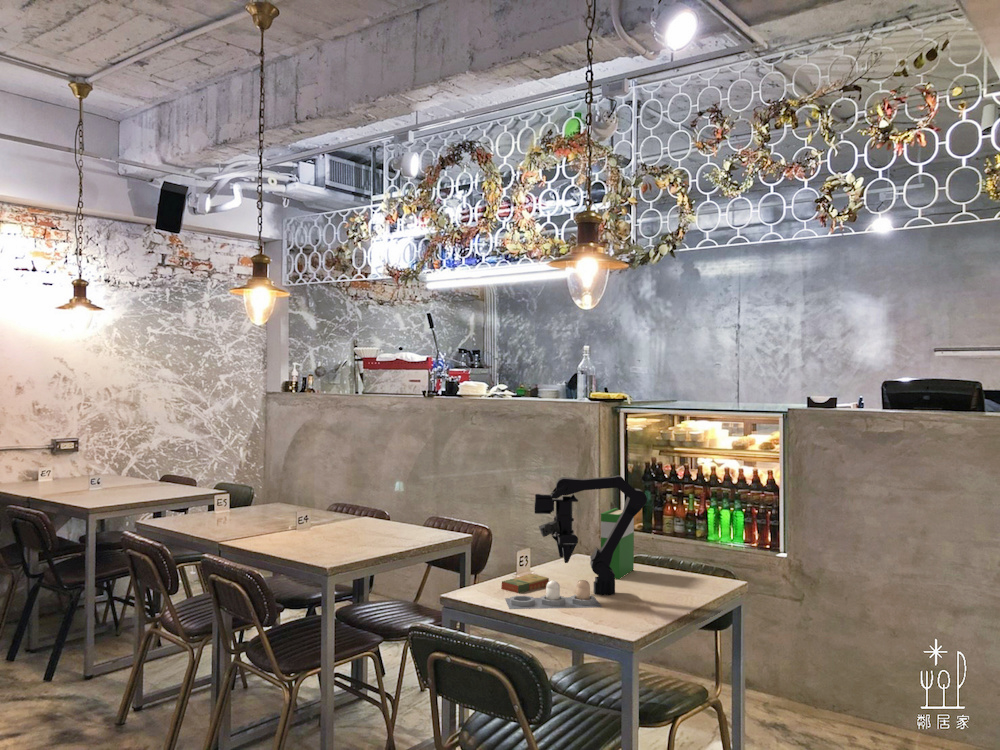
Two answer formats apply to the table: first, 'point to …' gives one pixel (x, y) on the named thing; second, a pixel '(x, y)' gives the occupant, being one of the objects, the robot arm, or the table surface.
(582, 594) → the brown egg
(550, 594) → the cream egg
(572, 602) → the egg stand
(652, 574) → the table surface
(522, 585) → the carton
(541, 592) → the table surface
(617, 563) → the hardback book
